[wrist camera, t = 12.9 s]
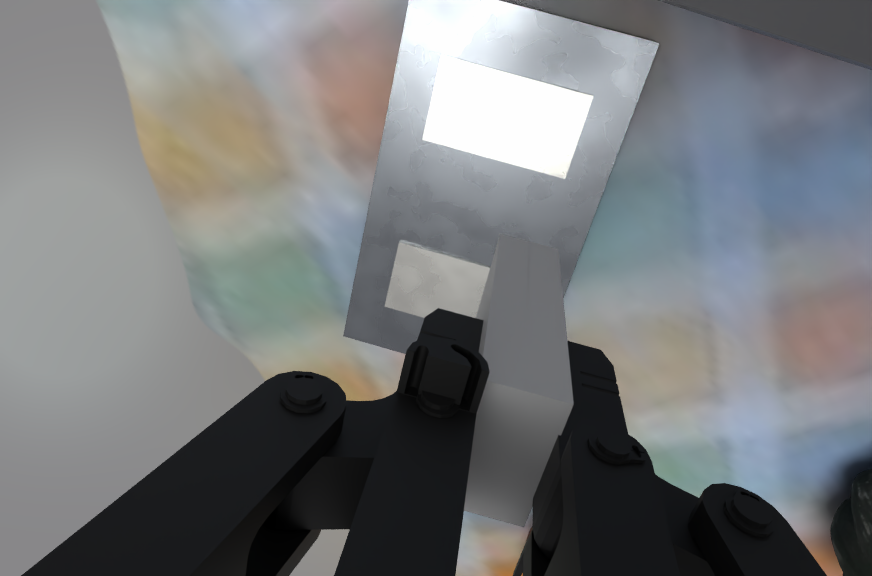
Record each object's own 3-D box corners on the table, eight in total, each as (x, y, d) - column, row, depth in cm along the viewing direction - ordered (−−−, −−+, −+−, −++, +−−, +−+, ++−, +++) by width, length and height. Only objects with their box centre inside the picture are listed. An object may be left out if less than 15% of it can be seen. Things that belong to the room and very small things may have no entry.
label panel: (695, -68, 33) (742, -86, 25) (529, 377, 46) (526, 454, 38) (440, -134, 33) (411, -173, 25) (349, 326, 46) (311, 391, 39)
